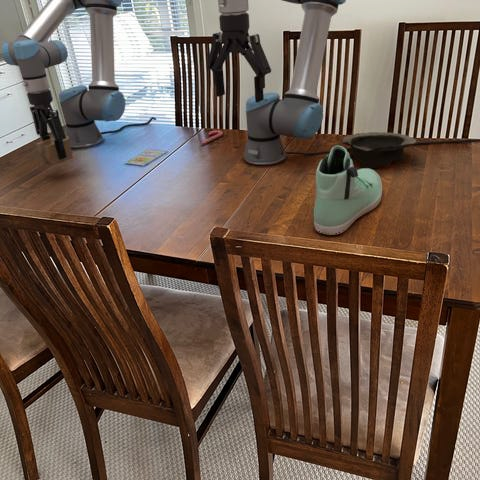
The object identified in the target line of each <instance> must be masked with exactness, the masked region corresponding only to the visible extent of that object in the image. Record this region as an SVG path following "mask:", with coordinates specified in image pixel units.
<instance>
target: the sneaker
mask: <svg viewBox="0 0 480 480" xmlns="http://www.w3.org/2000/svg"><path fill="white" fill-rule="evenodd" d="M346 149H347V148H345V147H344V146H342V145H334V146H333V147H331V149H330V151H331V152H330V153H328V154H327V155H326V156H325V157H324V158H322V159H321V160H320V161H319V163H318V164H317V165H318V166H317V168H316V172H315V201H314V207H313V225H314V229H315V231H316V232H318V233H320V234H323V235H326V236H327V235H328V236H336V235H339V234H342V233H344V232H345V231H347V230H348V229H349V228H350V227H351V226H352V225H353V224H354V222H356V221H357V220H358V219H359V218H360V217H362V216H363V215H365V214H367V213H370V212H372V210H374V209H375V208H377V207H378V205H380V203H381V200H382V196H383V184H382V183H383V182H382V179H381V176H380V175H379V173H378V172H377V171H376V170H374V169H372V168H369V167H363V168H358V169H357V168H355V167H354V161H353V159H352V158H351V156H350V153H349V152H348V150H346ZM343 230H344V231H343ZM319 231H320V232H319ZM322 232H323V233H322ZM339 232H340V233H339ZM326 233H327V234H326ZM328 233H329V234H328ZM335 233H337V234H335Z"/></svg>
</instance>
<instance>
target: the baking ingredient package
mask: <svg viewBox="0 0 480 480" xmlns="http://www.w3.org/2000/svg"><path fill="white" fill-rule="evenodd" d="M165 153H166V151H162V150H155V149H146V150H145V151H143V152H141V153H139V154H138V155H136V156H134V157H132V158H131V159H129V160H126V161H125V162H124V163H125V164H130V165H137V166H145V165H147V164H149V163H151V162H152V161H154V160H155V159H157V158H159V157H160V156H162V155H163V154H165Z"/></svg>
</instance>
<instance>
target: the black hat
mask: <svg viewBox="0 0 480 480" xmlns="http://www.w3.org/2000/svg"><path fill="white" fill-rule="evenodd" d="M417 142H418V141H417V139H415V138H413V137H411V136H409V135H407V134H402V133H397V132H384V131H383V132H381V131H379V132H378V131H377V132H375V131H370V132H359V133H358V132H357V133H353V134H350V135H345V136H344V137H342V141H341V144H342V145H346V146H348V147H349V148H351V150H350V152H351V155H352V156H353V157H354V159H356V160H358V161H359V162H360V166H361V167H363V168H369V169H372V168H373V169H377V168H380V167H382V168H385V167H389V166H390V165H391V164H392V162H393V163H394V162H395V163H397V162H401V161H402V160H403V156H404V148H408V147H411V146H413V145H416V144H415V143H417Z"/></svg>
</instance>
